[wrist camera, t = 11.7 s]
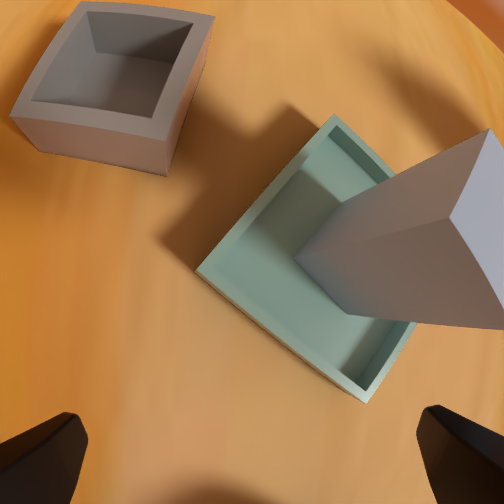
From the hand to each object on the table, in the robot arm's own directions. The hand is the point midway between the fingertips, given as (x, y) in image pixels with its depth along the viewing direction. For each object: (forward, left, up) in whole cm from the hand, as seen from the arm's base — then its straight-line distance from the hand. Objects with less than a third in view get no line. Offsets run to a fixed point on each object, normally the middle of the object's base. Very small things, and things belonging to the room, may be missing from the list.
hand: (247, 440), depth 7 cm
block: (+10, -3, -11) cm, 15 cm away
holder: (+8, +14, -12) cm, 20 cm away
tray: (+10, -3, -12) cm, 15 cm away
